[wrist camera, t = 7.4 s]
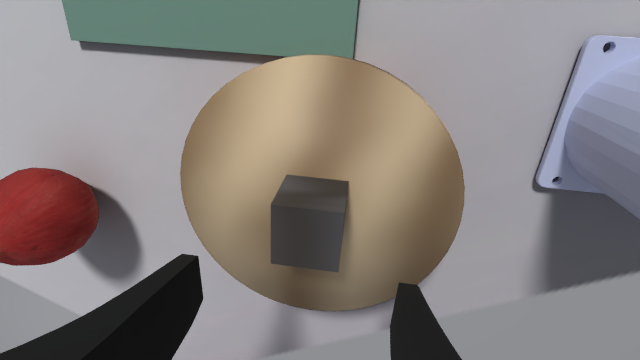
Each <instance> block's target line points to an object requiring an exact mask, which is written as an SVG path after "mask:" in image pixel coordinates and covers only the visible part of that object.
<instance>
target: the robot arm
mask: <svg viewBox="0 0 640 360" xmlns="http://www.w3.org/2000/svg"><path fill="white" fill-rule="evenodd" d="M608 42H609V43H610V48H609V50H608V51H606V52H604V51H603V47H604V45H605V44H606V43H608ZM555 177H559V179H558V180H557V181H556V182H552V180H553V179H554V178H555ZM535 180H536V182H537V183H538V184H539V185H540V186H541V187H544V188H553V189H563V190H573V191H582V192H592V193H602V194H606V195H608V196H609V197H610V198H612V199H613V200H614V201H616V202H617V203H618V204H620V205H621V206H622V207H624V208H625V209H626V210H628V211H629V212H630V213H632V214H633V215H634V216H636V217H637V218H638V219H640V38H636V37H621V36H605V35H594V36H591V37H589V38H588V39H587V40H586V41H585V42H584V44H583V46H582V49H581V52H580V54H579V57H578V60H577V63H576V66H575V68H574V71H573V74H572V77H571V80H570V82H569V85H568V88H567V91H566V94H565V96H564V99H563V102H562V105H561V107H560V110H559V113H558V116H557V119H556V121H555V124H554V127H553V130H552V133H551V135H550V138H549V141H548V144H547V147H546V149H545V152H544V155H543V158H542V161H541V163H540V166H539V169H538V172H537V174H536V179H535ZM202 301H203V292H202V284H201V276H200V267H199V259H198V256H194V255H187V254H181V255H180V256H178V257H176V258H175V259H173V260H172V261H170V262H169V263H167V264H166V265H164V266H163V267H161V268H160V269H158V270H157V271H155V272H154V273H153V274H151V275H150V276H148V277H146V278H145V279H143V280H142V281H140V282H139V283H137V284H136V285H134V286H133V287H131V288H130V289H128V290H126V291H125V292H123V293H121V294H120V295H118V296H117V297H115V298H113V299H112V300H110V301H108V302H107V303H105V304H103V305H102V306H100V307H98V308H96V309H95V310H93V311H91V312H89V313H87V314H86V315H84V316H82V317H80V318H78V319H76V320H74V321H72V322H70V323H68V324H66V325H64V326H62V327H60V328H58V329H56V330H54V331H52V332H49V333H47V334H45V335H43V336H40V337H38V338H36V339H34V340H32V341H29V342H27V343H25V344H23V345H20V346H18V347H16V348H13V349H11V350H8V351H6V352H3V353H1V354H0V360H171V359H172V358H173V356H174V354H175V353H176V351H177V349H178V348H179V346H180V344H181V343H182V341H183V339H184V337H185V336H186V334H187V332H188V331H189V329H190V327H191V325H192V323H193V321H194V319H195V317H196V315H197V312H198V310H199V308H200V305H201V303H202ZM390 344H391V346H390V348H391V360H462V359H461V358H460V356H459V355H458V353H457V352H456V351H455V349H454V347H453V346H452V344H451V343H450V341H449V340H448V338H447V336H446V335H445V333H444V332H443V330H442V328H441V327H440V325H439V324H438V322H437V320H436V318H435V317H434V315H433V313H432V311H431V309H430V308H429V306H428V304H427V302H426V300H425V298H424V296H423V294H422V292H421V290H420V288H419V287H418V286H417V285H415V284H407V283H400V282H399V284H398V289H397V294H396V299H395V304H394V309H393V314H392V319H391V324H390Z"/></svg>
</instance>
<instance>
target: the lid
mask: <svg viewBox="0 0 640 360" xmlns="http://www.w3.org/2000/svg"><path fill="white" fill-rule="evenodd" d="M180 175H181V190H182V196H183V201H184V205H185V208H186V211H187V214H188V217H189V220H190V222H191V224H192V226H193V229H194V231H195V233H196V235H197V236H198V238H199V239H200V241H201V243H202V244H203V246H204V247H205V249H206V250H207V251H208V252H209V254H210V255H211V256H212V257H213V258H214V260H215V261H216V262H217V263H218V264H219V265H220V266H221V267H222V268H223V269H224V270H225V271H227V272H228V273H229V274H230V275H231V276H233V277H234V278H235V279H236V280H238V281H239V282H241V283H242V284H244V285H245V286H247V287H248V288H250V289H252V290H254V291H255V292H257V293H259V294H261V295H263V296H265V297H268V298H270V299H273V300H275V301H277V302H280V303H284V304H287V305H290V306H294V307H299V308H304V309H309V310H320V311H345V310H354V309H360V308H365V307H370V306H373V305H376V304H379V303H382V302H385V301H388V300H390V299H392V298H394V297H396V294H397V289H398V284H399V282H400V283H407V284H415V285H417V284H418V283H419V282H420V281H422V280H423V279H424V278H425V277H427V276H428V275H429V274H430V273H431V272H432V271H433V269H434V268H435V267H436V266H437V265H438V264H439V263H440V261H441V260H442V259H443V257H444V256H445V255H446V253H447V252H448V250H449V248H450V246H451V244H452V242H453V241H454V239H455V236H456V234H457V231H458V228H459V225H460V222H461V217H462V212H463V207H464V188H465V187H464V179H463V171H462V166H461V163H460V159H459V156H458V152H457V150H456V148H455V145H454V143H453V141H452V139H451V137H450V134H449V133H448V131H447V129H446V128H445V126H444V125H443V123H442V122H441V120H440V119H439V117H438V116H437V114H436V113H435V111H434V110H433V109H432V108H431V107H430V106H429V105H428V104H427V102H426V101H425V100H424V99H423V98H422V97H421V96H420V95H419V94H418V93H416V92H415V91H414V90H413V89H412V88H411V87H409V86H408V85H407V84H406V83H404V82H403V81H401V80H400V79H398V78H396V77H395V76H393V75H392V74H390V73H388V72H386V71H384V70H382V69H380V68H377V67H375V66H373V65H371V64H368V63H365V62H362V61H358V60H355V59H351V58H348V57H341V56H334V55H327V54H305V55H298V56H290V57H284V58H281V59H277V60H274V61H270V62H267V63H264V64H262V65H260V66H258V67H255V68H253V69H251V70H249V71H247V72H244V73H242V74H241V75H239V76H238V77H236V78H235V79H233V80H232V81H230V82H228V83H227V84H226V85H225V86H223V87H222V88H221V89H220V90H219V91H218V92H217V93H215V94H214V95H213V96H212V97H211V99H210V100H209V101H208V102H207V103H206V105H205V106H204V107H203V108H202V109H201V111H200V112H199V114H198V116H197V118H196V119H195V121H194V123H193V124H192V126H191V129H190V131H189V134H188V136H187V139H186V141H185V146H184V150H183V154H182V160H181V172H180Z"/></svg>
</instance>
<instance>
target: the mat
mask: <svg viewBox="0 0 640 360" xmlns="http://www.w3.org/2000/svg"><path fill="white" fill-rule="evenodd" d="M62 3H63V7H64V11H65V15H66V20H67V24H68V28H69V33H70V37H71V40H76V41H89V42H102V43H116V44H129V45H142V46H155V47H169V48H182V49H195V50H208V51H222V52H235V53H248V54H261V55H274V56H288V57H290V56H298V55H305V54H327V55H334V56H341V57H348V58H351V59H353V54H354V43H355V32H356V22H357V11H358V0H62Z"/></svg>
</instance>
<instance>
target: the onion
mask: <svg viewBox="0 0 640 360" xmlns="http://www.w3.org/2000/svg"><path fill="white" fill-rule="evenodd" d="M98 217H99V208H98V204H97V201H96V198H95V195H94V193H93V191H92V189H91V187H90V186H89V185H88V184H87V183H85V182H83V181H81V180H80V179H79V178H76V177H74V176H72V175H69V174H67V173H65V172H63V171H60V170H55V169H46V168H28V169H23V170H18V171H16V172H14V173H12V174H10V175H8V176H7V177H5V178H3V179H1V180H0V263H5V264H10V265H41V264H47V263H51V262H55V261H57V260H59V259H61V258H63V257H65V256H67V255H69V254H71V253H73V252H75V251H76V250H78V249H79V248H80V247H82V246H83V245H84V244H85V243H86V241H87V240H88V239H89V237H90V236H91V235H92V233H93V232H94V230H95V229H96V226H97V222H98Z"/></svg>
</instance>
